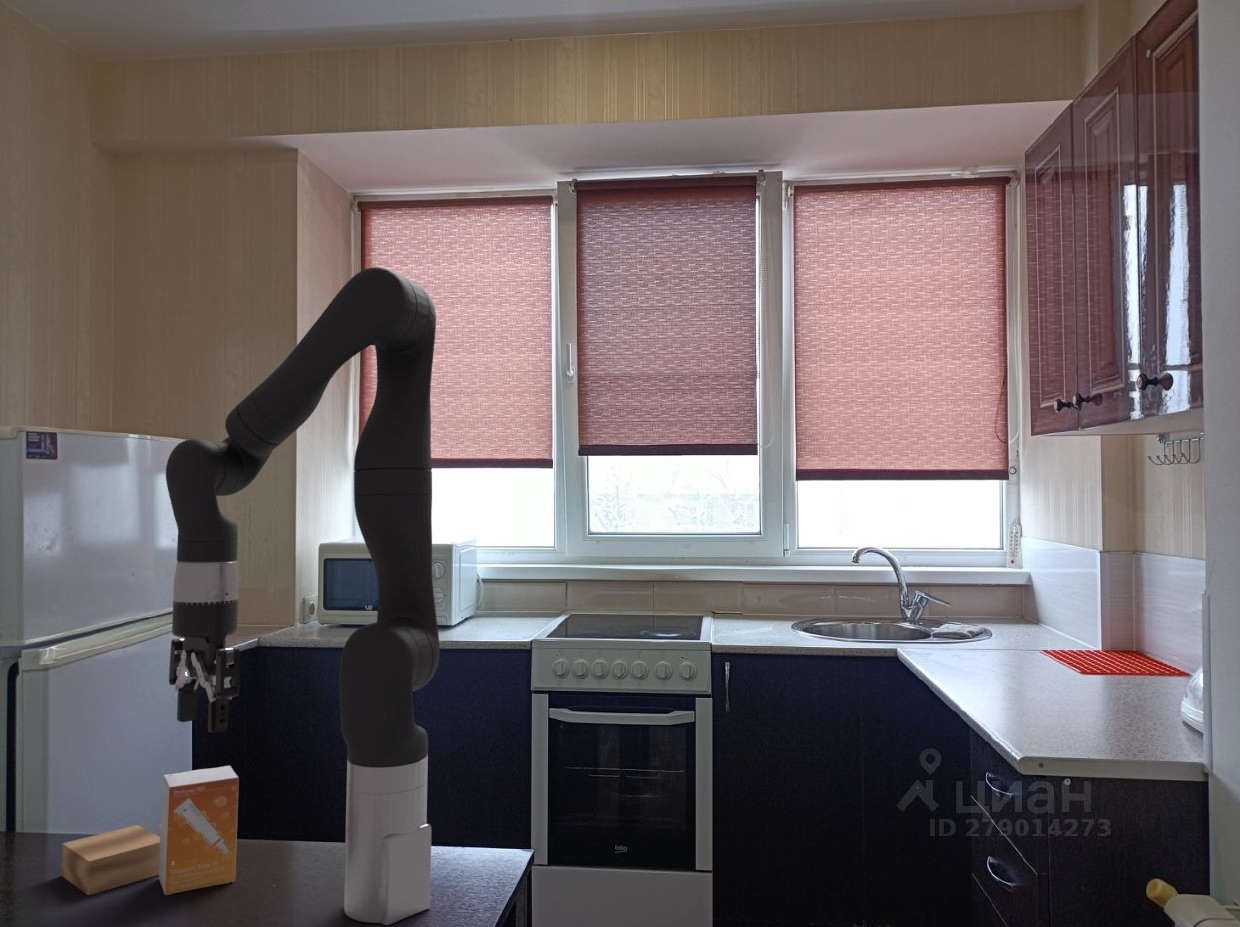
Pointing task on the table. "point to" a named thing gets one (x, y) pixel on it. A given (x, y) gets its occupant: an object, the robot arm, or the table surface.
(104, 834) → the base brick
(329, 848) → the table surface
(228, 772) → the small box
